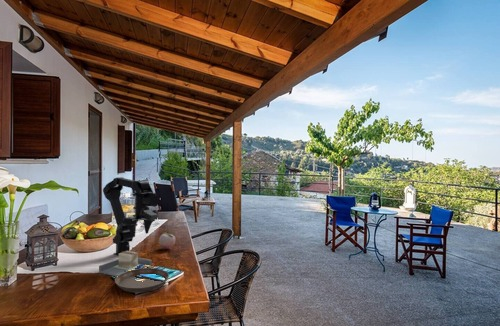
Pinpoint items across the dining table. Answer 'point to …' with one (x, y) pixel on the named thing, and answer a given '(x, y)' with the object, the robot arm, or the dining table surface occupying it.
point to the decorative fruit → (167, 240)
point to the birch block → (128, 259)
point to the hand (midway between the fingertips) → (140, 235)
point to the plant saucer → (131, 285)
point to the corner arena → (115, 270)
